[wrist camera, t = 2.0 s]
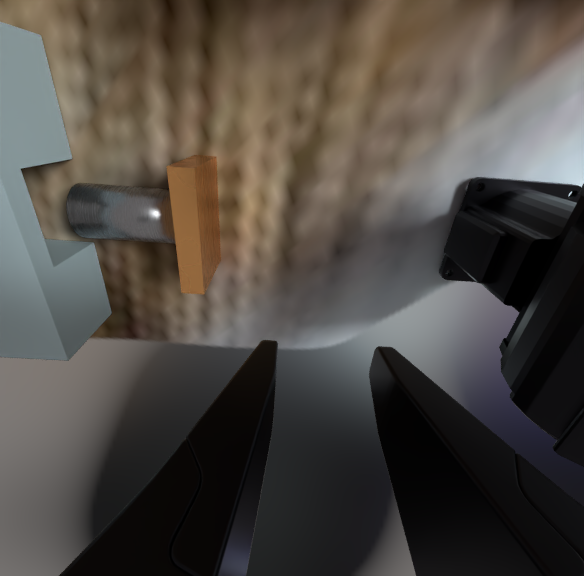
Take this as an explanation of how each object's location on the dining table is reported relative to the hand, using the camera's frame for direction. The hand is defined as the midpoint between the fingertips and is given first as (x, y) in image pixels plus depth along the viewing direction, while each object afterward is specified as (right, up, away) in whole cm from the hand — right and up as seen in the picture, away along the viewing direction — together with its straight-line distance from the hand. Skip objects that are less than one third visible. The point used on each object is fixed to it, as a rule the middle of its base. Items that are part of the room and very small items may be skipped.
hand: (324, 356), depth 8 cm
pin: (-9, +7, +11) cm, 15 cm away
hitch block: (-15, +7, +10) cm, 20 cm away
